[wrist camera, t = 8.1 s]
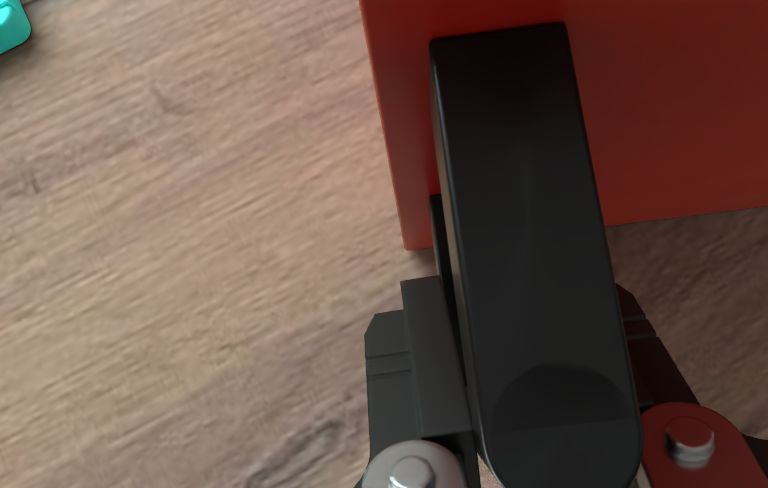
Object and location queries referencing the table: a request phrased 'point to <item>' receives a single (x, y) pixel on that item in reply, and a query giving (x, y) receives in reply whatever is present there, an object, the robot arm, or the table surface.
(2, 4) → the handheld game console
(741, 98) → the door
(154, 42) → the table surface
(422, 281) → the robot arm
